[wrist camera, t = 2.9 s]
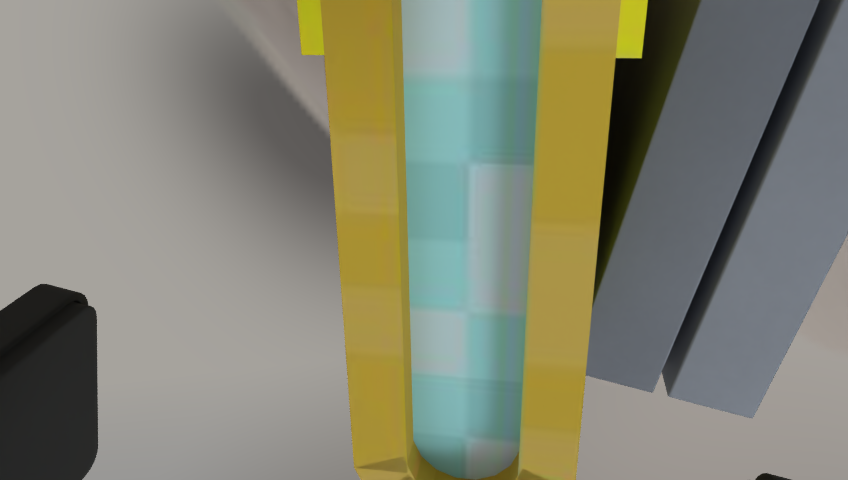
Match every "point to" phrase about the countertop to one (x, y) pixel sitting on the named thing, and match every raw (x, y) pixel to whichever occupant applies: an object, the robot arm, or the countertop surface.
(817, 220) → the grey book
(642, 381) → the grey book
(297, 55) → the countertop surface
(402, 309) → the book
